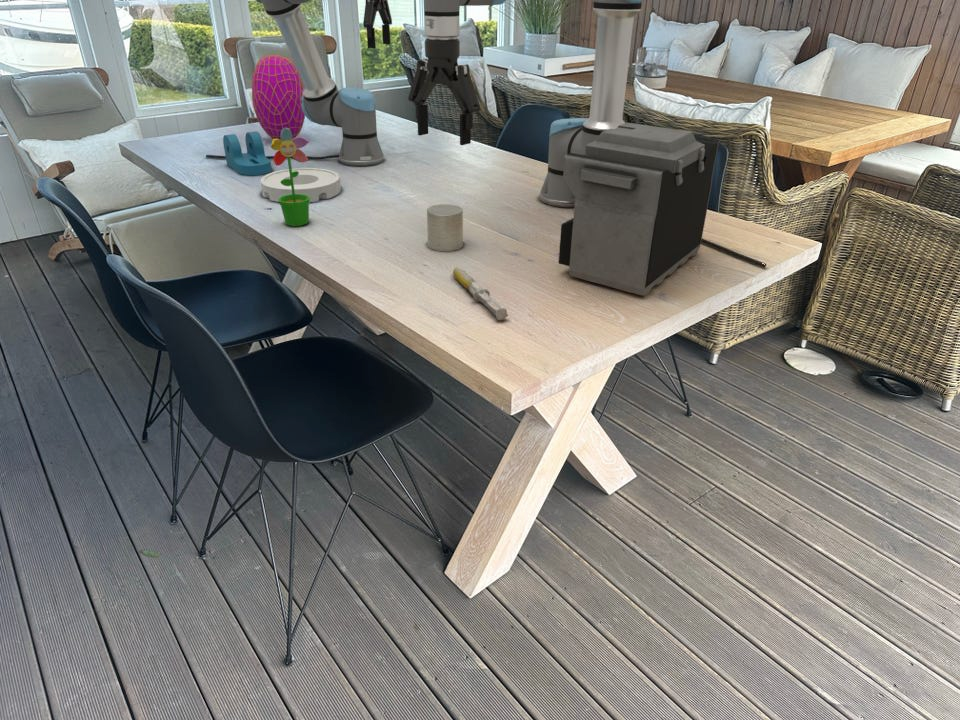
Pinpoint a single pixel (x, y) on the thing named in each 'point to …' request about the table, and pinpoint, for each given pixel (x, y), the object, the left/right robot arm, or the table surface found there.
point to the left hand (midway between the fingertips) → (379, 46)
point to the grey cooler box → (636, 205)
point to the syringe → (479, 293)
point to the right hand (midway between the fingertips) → (443, 139)
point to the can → (445, 227)
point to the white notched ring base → (302, 184)
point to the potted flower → (291, 178)
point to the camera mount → (246, 154)
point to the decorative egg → (277, 96)
